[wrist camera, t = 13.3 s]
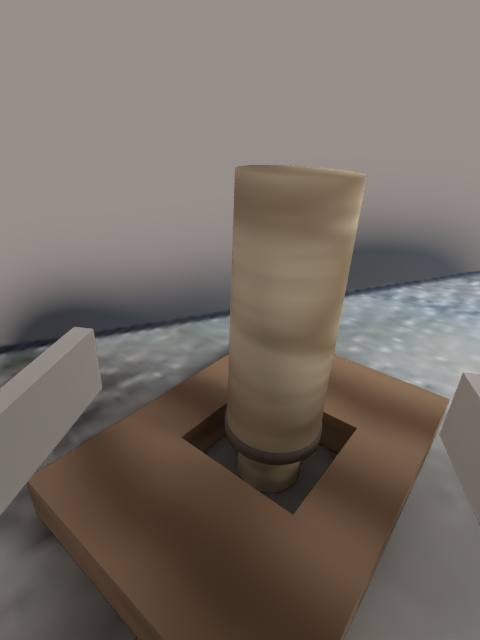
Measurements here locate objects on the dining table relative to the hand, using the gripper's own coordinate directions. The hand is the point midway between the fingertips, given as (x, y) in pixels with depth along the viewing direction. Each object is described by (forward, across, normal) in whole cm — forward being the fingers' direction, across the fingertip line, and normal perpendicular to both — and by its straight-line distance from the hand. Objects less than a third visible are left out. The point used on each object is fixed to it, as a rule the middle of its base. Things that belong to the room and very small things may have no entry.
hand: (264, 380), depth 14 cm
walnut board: (+4, 0, -9) cm, 10 cm away
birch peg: (+4, 0, -9) cm, 10 cm away
